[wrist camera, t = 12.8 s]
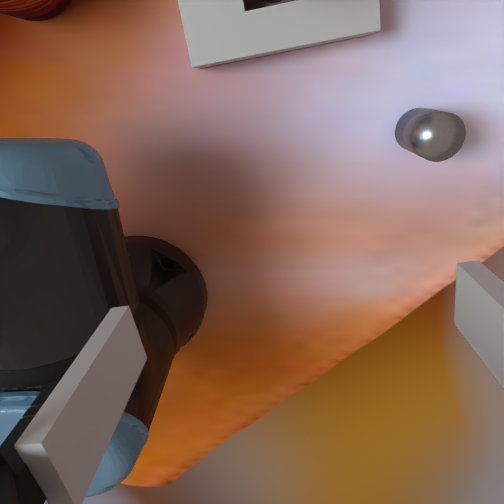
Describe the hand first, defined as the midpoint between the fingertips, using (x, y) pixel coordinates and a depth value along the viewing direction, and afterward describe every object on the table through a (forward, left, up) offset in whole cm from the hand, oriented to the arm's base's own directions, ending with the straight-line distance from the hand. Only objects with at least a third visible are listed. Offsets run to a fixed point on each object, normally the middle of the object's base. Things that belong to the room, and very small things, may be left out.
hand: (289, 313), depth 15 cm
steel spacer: (+14, +2, -27) cm, 30 cm away
